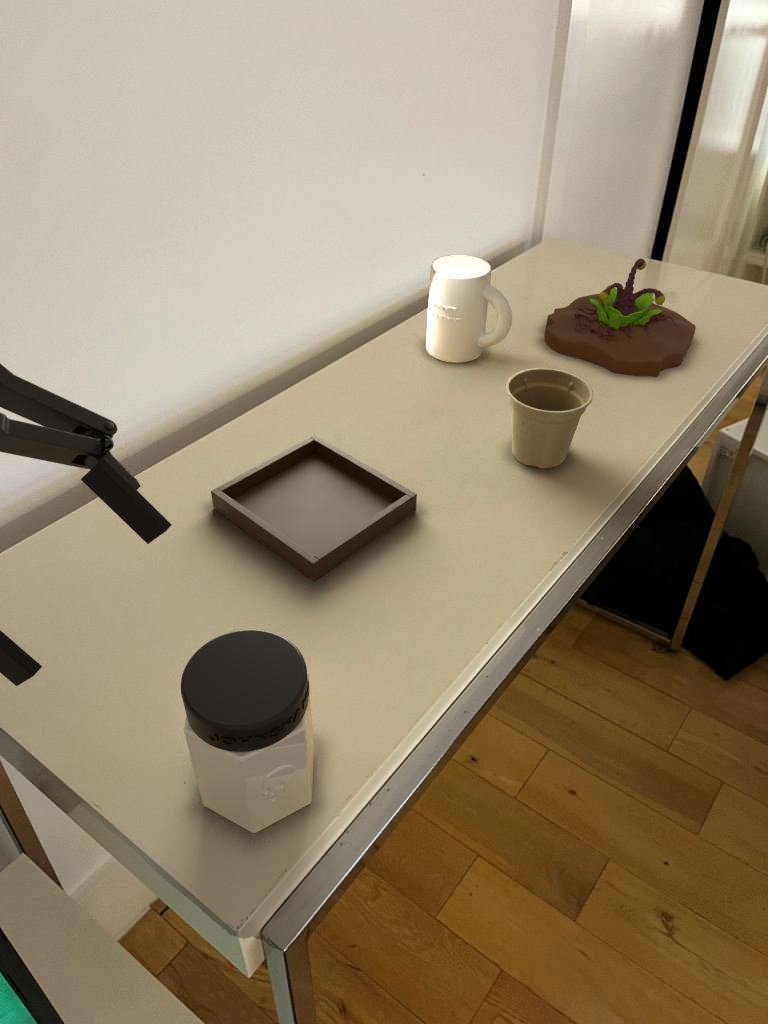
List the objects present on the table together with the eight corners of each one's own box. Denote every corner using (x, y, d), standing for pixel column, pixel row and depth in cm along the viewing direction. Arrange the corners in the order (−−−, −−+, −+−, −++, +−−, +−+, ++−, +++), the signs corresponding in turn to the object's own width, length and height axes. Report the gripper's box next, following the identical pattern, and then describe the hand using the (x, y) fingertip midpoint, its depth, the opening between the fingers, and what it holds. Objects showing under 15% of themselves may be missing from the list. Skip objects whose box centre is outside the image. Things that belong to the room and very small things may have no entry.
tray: (314, 581, 74) (313, 564, 72) (213, 508, 82) (210, 490, 80) (416, 511, 82) (417, 493, 80) (315, 450, 90) (314, 434, 88)
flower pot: (481, 455, 90) (488, 390, 84) (525, 421, 95) (535, 358, 90) (551, 488, 85) (564, 422, 79) (594, 451, 91) (609, 387, 85)
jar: (225, 854, 53) (202, 755, 46) (183, 763, 59) (155, 660, 51) (339, 792, 57) (336, 690, 49) (290, 711, 62) (279, 609, 54)
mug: (492, 377, 103) (503, 291, 96) (414, 353, 108) (418, 270, 100) (517, 352, 109) (529, 269, 101) (442, 330, 113) (448, 250, 106)
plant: (712, 336, 113) (735, 261, 106) (655, 388, 102) (677, 308, 94) (589, 297, 123) (603, 226, 116) (524, 341, 111) (535, 265, 104)
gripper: (-33, 298, 57) (177, 507, 62) (-406, 499, 39) (-64, 765, 44) (4, 237, 52) (227, 469, 57) (-403, 434, 34) (-20, 743, 40)
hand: (101, 599), depth 51 cm, fingers open, 13 cm apart
